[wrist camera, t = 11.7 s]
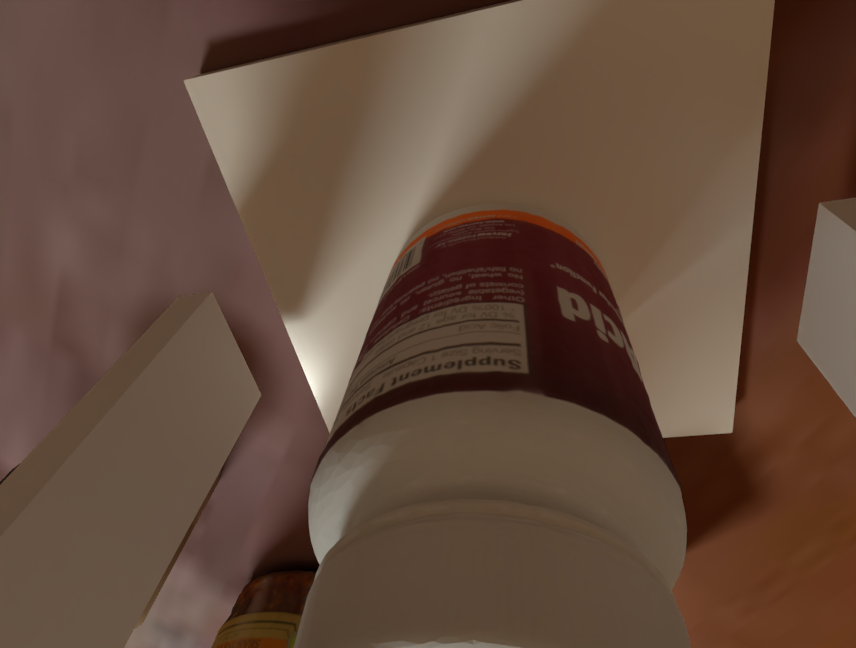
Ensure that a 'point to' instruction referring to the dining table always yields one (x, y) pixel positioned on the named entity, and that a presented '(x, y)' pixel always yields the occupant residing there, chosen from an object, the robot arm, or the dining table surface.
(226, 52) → the dining table surface
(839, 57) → the dining table surface
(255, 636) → the sauce bottle
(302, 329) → the tile
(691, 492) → the dining table surface
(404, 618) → the pill bottle
